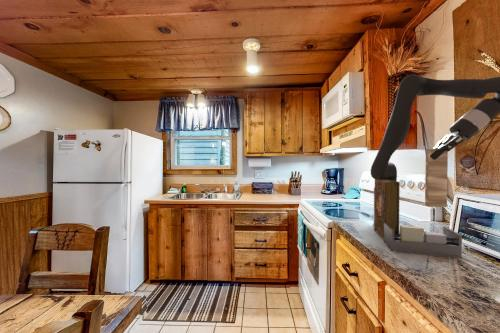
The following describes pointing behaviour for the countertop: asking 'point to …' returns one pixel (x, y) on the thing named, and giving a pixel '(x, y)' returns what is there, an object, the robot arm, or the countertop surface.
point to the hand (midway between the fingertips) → (430, 157)
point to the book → (386, 205)
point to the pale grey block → (434, 238)
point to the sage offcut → (411, 234)
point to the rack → (425, 244)
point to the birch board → (436, 179)
